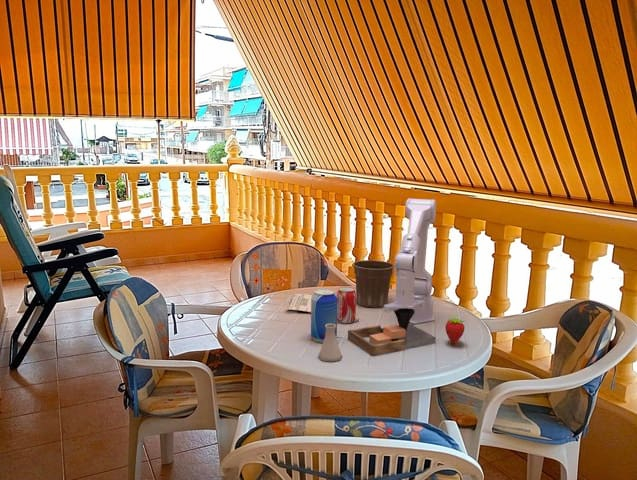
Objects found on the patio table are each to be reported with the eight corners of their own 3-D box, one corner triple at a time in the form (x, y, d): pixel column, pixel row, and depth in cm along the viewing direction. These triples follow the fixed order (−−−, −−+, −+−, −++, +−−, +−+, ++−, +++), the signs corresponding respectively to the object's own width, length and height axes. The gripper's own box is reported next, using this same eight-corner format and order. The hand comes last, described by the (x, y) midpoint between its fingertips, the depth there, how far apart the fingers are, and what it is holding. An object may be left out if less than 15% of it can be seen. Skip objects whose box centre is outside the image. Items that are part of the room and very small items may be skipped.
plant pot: (370, 295, 216) (371, 257, 213) (400, 304, 204) (402, 264, 201) (343, 302, 205) (344, 263, 202) (373, 312, 193) (375, 271, 190)
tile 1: (382, 339, 167) (382, 332, 166) (391, 345, 162) (391, 338, 162) (369, 342, 164) (369, 335, 164) (377, 347, 160) (378, 340, 160)
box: (378, 333, 172) (379, 325, 171) (405, 349, 158) (405, 340, 158) (347, 339, 166) (348, 330, 166) (372, 356, 153) (372, 346, 153)
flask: (317, 352, 155) (317, 321, 153) (340, 352, 156) (341, 321, 154) (318, 362, 148) (319, 329, 146) (343, 362, 149) (344, 329, 147)
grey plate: (409, 329, 176) (409, 323, 176) (435, 343, 164) (435, 337, 164) (379, 334, 171) (379, 328, 171) (404, 349, 159) (404, 343, 158)
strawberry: (461, 340, 167) (463, 310, 165) (464, 349, 160) (467, 318, 158) (443, 339, 168) (445, 309, 166) (445, 347, 160) (447, 317, 159)
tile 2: (395, 331, 168) (396, 324, 168) (405, 336, 164) (405, 329, 163) (383, 333, 166) (383, 326, 165) (392, 339, 162) (392, 331, 161)
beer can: (318, 345, 161) (319, 296, 158) (306, 336, 168) (306, 289, 165) (341, 341, 165) (342, 293, 162) (328, 332, 172) (329, 286, 169)
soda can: (354, 325, 179) (355, 292, 177) (334, 323, 181) (335, 290, 179) (356, 318, 186) (357, 286, 184) (337, 317, 188) (338, 285, 185)
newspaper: (288, 297, 213) (289, 291, 212) (317, 301, 212) (318, 295, 212) (279, 314, 191) (280, 308, 190) (312, 319, 190) (313, 312, 189)
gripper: (393, 295, 157) (391, 337, 160) (430, 290, 164) (428, 331, 166) (380, 289, 163) (378, 330, 166) (417, 285, 170) (415, 324, 172)
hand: (402, 330), depth 166 cm, fingers closed
